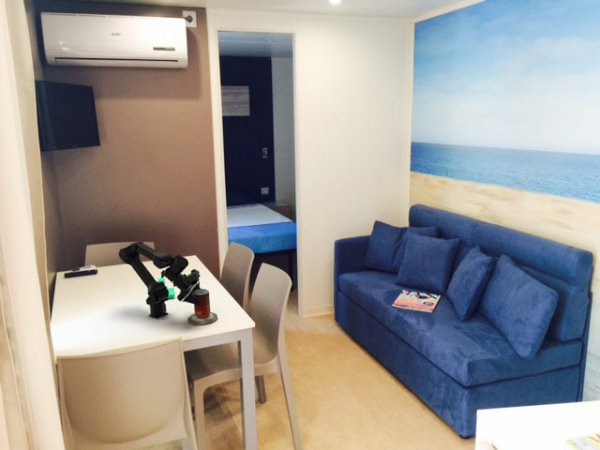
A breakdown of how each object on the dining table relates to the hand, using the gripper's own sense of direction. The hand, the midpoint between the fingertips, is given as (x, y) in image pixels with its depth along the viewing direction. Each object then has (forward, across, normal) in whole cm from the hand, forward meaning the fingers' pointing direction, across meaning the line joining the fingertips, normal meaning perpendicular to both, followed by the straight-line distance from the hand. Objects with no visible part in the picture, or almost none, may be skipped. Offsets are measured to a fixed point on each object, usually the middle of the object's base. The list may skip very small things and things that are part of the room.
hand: (202, 301), depth 226 cm
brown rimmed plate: (+6, 0, +7) cm, 9 cm away
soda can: (+5, 0, +6) cm, 8 cm away
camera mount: (-13, +33, +26) cm, 44 cm away
